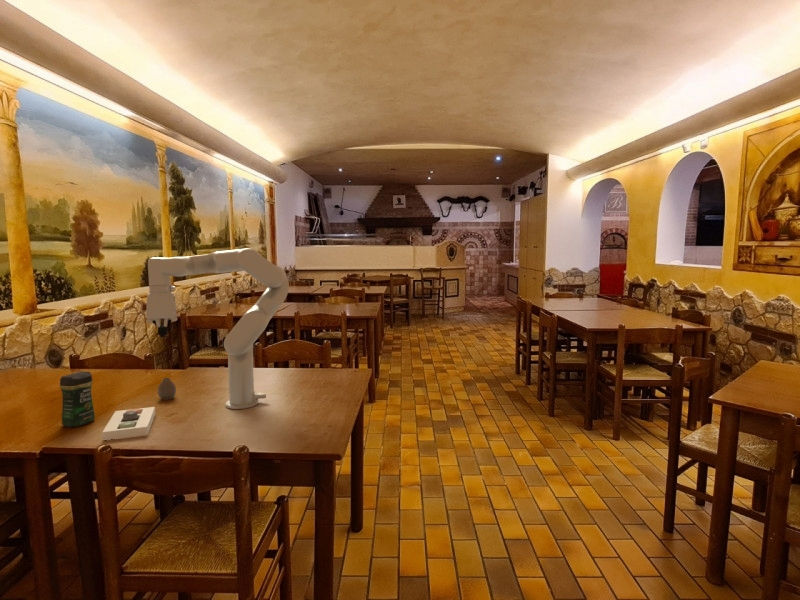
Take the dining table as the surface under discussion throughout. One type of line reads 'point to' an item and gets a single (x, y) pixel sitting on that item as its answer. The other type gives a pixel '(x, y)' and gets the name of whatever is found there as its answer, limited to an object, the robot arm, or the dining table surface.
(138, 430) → the button panel
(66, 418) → the coffee jar
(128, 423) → the button sage
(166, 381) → the vase
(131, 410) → the button terracotta
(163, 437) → the dining table surface
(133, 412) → the button charcoal
